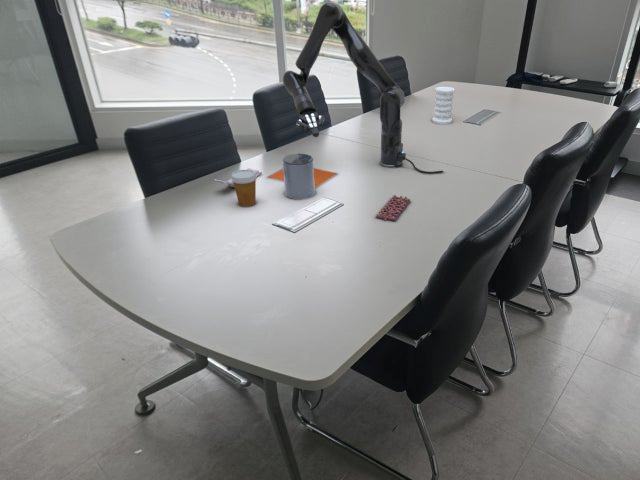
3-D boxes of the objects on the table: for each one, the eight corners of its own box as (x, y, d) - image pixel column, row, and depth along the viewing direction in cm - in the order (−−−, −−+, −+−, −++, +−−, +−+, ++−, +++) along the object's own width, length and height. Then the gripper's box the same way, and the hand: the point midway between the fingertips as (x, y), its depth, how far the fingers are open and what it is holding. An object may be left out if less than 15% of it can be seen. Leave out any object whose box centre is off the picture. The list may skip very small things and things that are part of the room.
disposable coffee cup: (264, 200, 200) (260, 171, 193) (251, 210, 192) (247, 180, 186) (243, 196, 202) (239, 168, 196) (229, 206, 195) (225, 176, 188)
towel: (337, 174, 224) (337, 173, 224) (314, 188, 210) (314, 187, 210) (292, 164, 233) (292, 163, 233) (268, 177, 219) (268, 176, 219)
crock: (321, 191, 208) (319, 157, 200) (302, 201, 199) (300, 166, 191) (298, 185, 213) (295, 151, 205) (279, 194, 204) (275, 160, 196)
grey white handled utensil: (213, 179, 202) (250, 159, 221) (215, 193, 205) (251, 172, 224) (225, 182, 200) (262, 161, 219) (227, 196, 203) (263, 174, 222)
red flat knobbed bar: (375, 218, 187) (375, 214, 186) (392, 199, 202) (392, 194, 201) (394, 222, 185) (394, 217, 184) (409, 201, 200) (410, 197, 199)
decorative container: (453, 124, 289) (456, 91, 279) (433, 123, 289) (435, 91, 279) (450, 118, 299) (454, 86, 289) (431, 118, 299) (433, 86, 289)
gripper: (289, 102, 213) (300, 132, 205) (319, 97, 216) (331, 125, 208) (290, 116, 219) (301, 145, 212) (319, 110, 222) (331, 138, 215)
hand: (316, 135), depth 210 cm, fingers closed
